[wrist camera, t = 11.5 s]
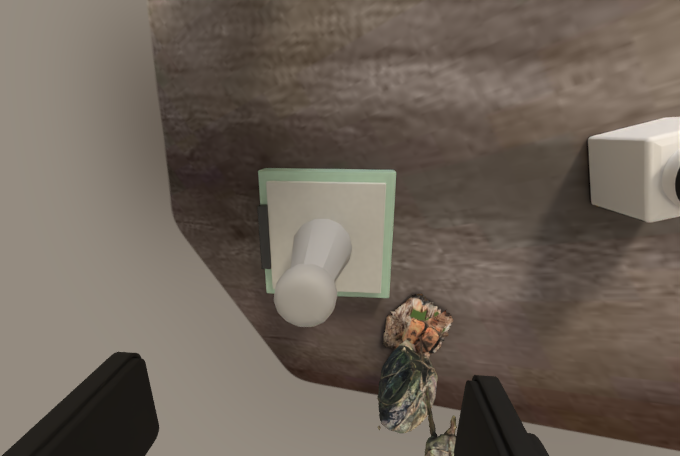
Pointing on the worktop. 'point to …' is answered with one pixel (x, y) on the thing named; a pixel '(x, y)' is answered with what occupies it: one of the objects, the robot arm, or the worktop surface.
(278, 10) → the worktop surface
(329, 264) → the salt shaker
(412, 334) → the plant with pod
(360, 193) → the scale
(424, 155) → the worktop surface
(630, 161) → the medicine bottle
